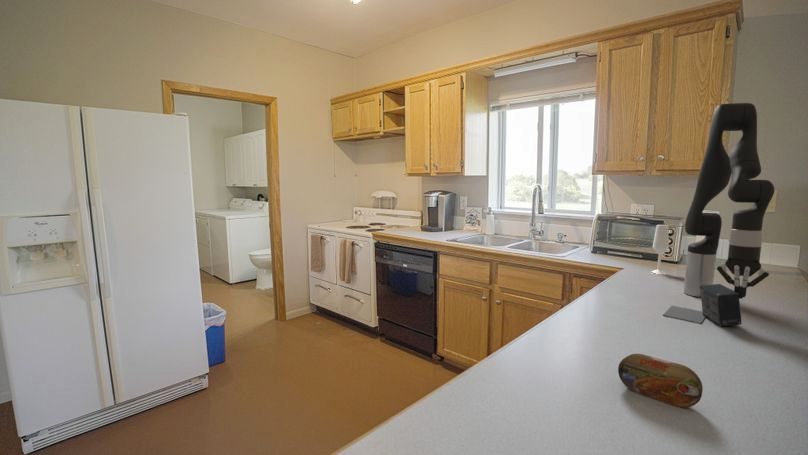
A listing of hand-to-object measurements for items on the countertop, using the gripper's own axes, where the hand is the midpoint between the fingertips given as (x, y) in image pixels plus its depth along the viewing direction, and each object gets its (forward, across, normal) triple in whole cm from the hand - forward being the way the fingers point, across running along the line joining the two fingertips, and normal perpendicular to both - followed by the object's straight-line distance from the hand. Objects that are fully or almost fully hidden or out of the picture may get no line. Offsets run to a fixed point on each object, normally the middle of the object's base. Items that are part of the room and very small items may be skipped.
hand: (739, 297), depth 122 cm
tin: (+10, +8, +66) cm, 67 cm away
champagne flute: (+8, +34, -63) cm, 72 cm away
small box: (+8, +4, 0) cm, 9 cm away
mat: (+9, +13, 0) cm, 16 cm away
